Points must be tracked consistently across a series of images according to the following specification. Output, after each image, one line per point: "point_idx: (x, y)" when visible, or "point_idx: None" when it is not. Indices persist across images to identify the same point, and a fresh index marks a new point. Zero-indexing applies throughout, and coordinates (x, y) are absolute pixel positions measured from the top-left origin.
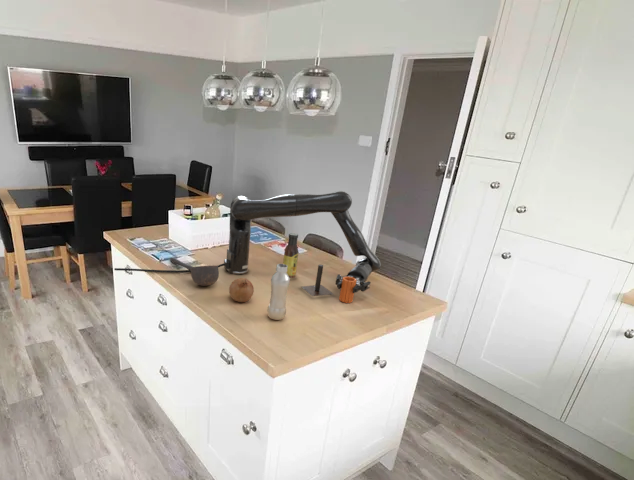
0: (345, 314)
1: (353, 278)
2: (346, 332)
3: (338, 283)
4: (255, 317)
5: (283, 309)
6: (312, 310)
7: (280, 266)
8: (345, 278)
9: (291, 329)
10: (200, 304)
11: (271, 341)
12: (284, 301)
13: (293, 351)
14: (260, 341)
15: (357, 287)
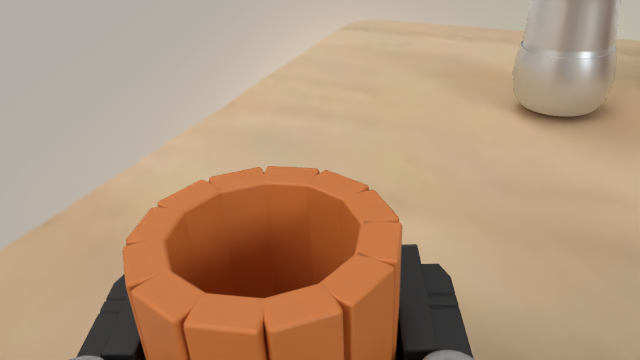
0: None
1: (189, 284)
2: (200, 153)
3: (440, 287)
4: (618, 86)
5: (521, 44)
6: (478, 227)
7: None
8: (355, 260)
9: (432, 90)
10: None
11: (436, 46)
12: (531, 2)
13: (349, 45)
14: (462, 39)
15: (111, 320)
